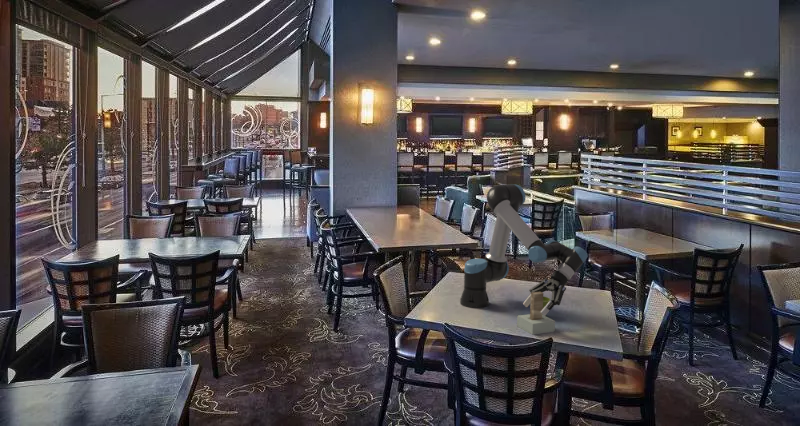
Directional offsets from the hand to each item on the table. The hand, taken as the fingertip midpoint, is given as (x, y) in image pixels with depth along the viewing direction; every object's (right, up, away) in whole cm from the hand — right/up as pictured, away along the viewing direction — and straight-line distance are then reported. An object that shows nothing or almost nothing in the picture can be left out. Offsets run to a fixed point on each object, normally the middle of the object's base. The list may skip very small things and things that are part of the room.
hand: (533, 309), depth 244 cm
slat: (+2, -8, +2) cm, 8 cm away
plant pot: (+9, -7, +22) cm, 24 cm away
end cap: (+1, -9, +2) cm, 9 cm away
